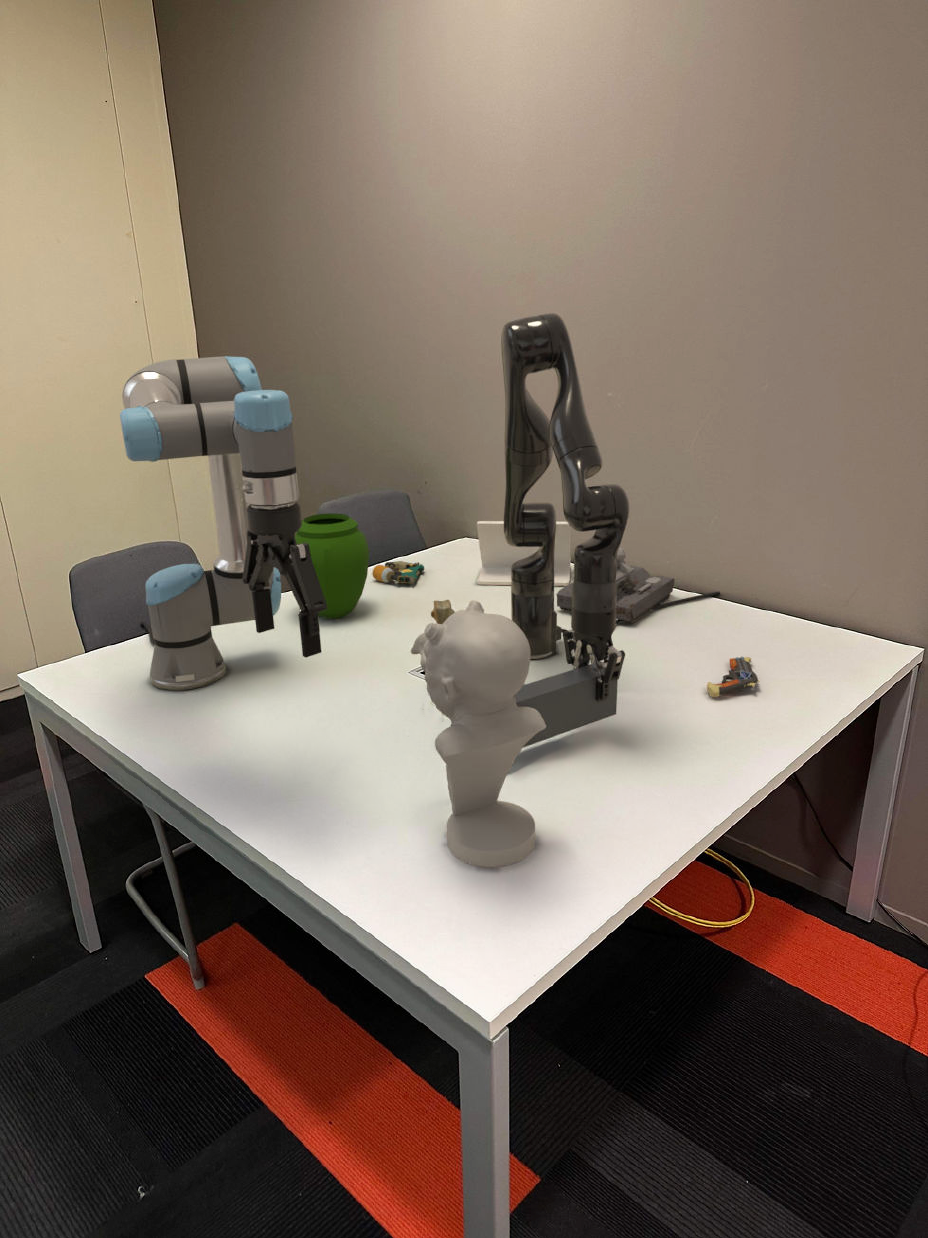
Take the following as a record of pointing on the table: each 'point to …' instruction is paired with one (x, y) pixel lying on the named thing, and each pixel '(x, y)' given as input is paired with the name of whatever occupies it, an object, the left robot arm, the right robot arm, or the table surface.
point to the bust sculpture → (481, 729)
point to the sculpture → (441, 611)
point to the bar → (567, 701)
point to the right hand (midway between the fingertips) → (591, 694)
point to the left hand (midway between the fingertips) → (288, 642)
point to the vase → (336, 560)
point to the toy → (629, 591)
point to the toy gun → (735, 678)
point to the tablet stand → (517, 554)
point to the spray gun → (398, 572)
